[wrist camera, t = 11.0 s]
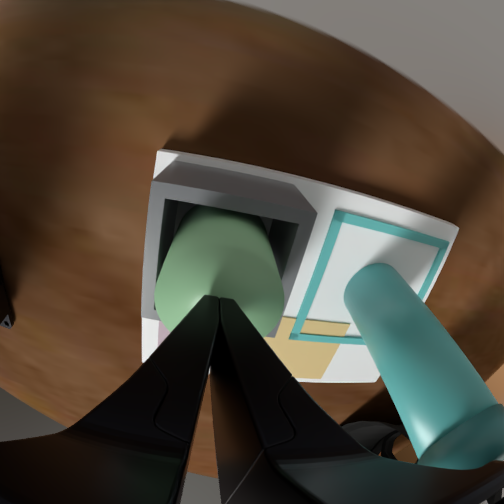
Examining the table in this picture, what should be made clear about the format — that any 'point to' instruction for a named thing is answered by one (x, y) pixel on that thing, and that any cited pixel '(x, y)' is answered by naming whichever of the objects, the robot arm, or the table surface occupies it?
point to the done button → (220, 267)
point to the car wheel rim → (385, 440)
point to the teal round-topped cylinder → (425, 373)
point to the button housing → (231, 198)
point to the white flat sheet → (332, 271)
